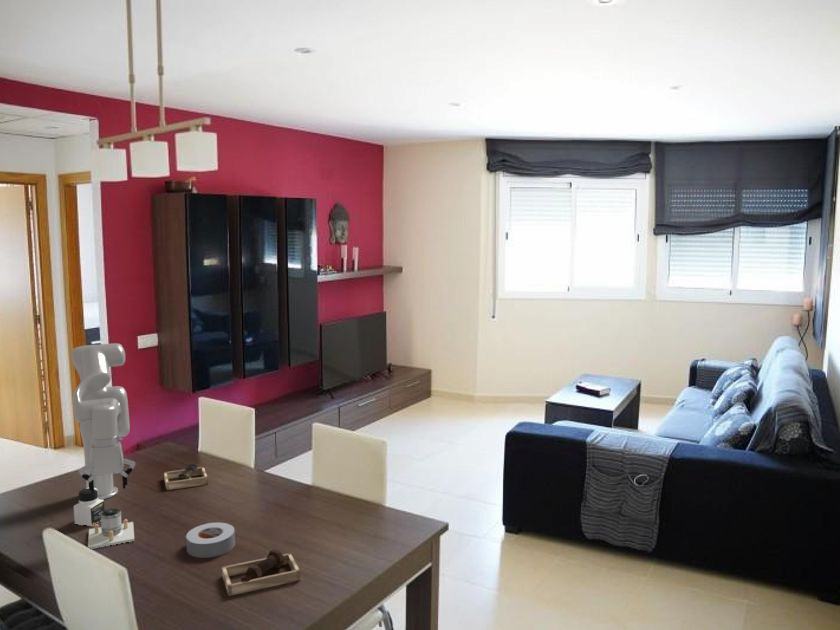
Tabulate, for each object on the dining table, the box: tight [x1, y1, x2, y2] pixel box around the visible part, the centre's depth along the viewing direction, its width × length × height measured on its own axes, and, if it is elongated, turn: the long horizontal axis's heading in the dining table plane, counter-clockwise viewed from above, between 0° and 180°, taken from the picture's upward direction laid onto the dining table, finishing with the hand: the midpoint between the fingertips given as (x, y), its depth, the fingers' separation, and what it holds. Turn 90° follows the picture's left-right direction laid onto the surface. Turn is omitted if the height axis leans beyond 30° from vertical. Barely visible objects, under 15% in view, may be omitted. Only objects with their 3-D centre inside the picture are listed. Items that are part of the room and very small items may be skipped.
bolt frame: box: [221, 552, 301, 597], centre depth 198 cm, size 12×21×3 cm, turn 115°
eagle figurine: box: [175, 463, 198, 480], centre depth 274 cm, size 8×7×9 cm
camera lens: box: [100, 508, 122, 537], centre depth 224 cm, size 6×6×8 cm
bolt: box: [240, 548, 284, 582], centre depth 198 cm, size 6×5×15 cm
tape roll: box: [185, 522, 236, 559], centre depth 218 cm, size 15×15×5 cm
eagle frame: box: [163, 466, 209, 491], centre depth 273 cm, size 13×16×3 cm
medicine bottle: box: [73, 487, 105, 527], centre depth 235 cm, size 7×7×12 cm
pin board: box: [87, 518, 135, 550], centre depth 224 cm, size 14×14×4 cm
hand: (108, 489), depth 223 cm, fingers open, 9 cm apart
